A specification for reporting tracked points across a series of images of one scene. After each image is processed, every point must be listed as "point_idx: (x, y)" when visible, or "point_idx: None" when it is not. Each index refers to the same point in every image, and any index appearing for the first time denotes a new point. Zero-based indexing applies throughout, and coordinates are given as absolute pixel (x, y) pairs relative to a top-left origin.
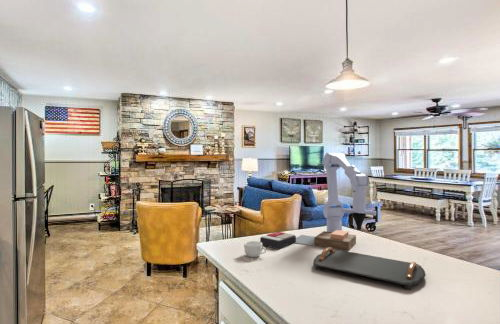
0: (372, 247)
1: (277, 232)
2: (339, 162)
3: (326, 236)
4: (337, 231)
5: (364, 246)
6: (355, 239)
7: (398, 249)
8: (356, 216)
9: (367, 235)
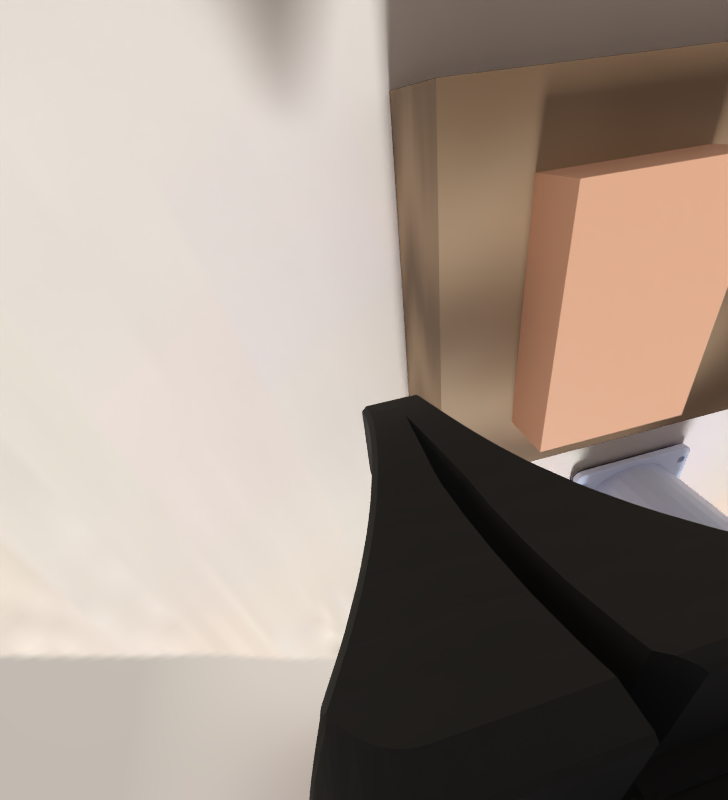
0: (234, 427)
1: None
2: None
3: None
4: (667, 363)
5: (311, 404)
6: None
7: (9, 533)
8: (678, 618)
9: None
